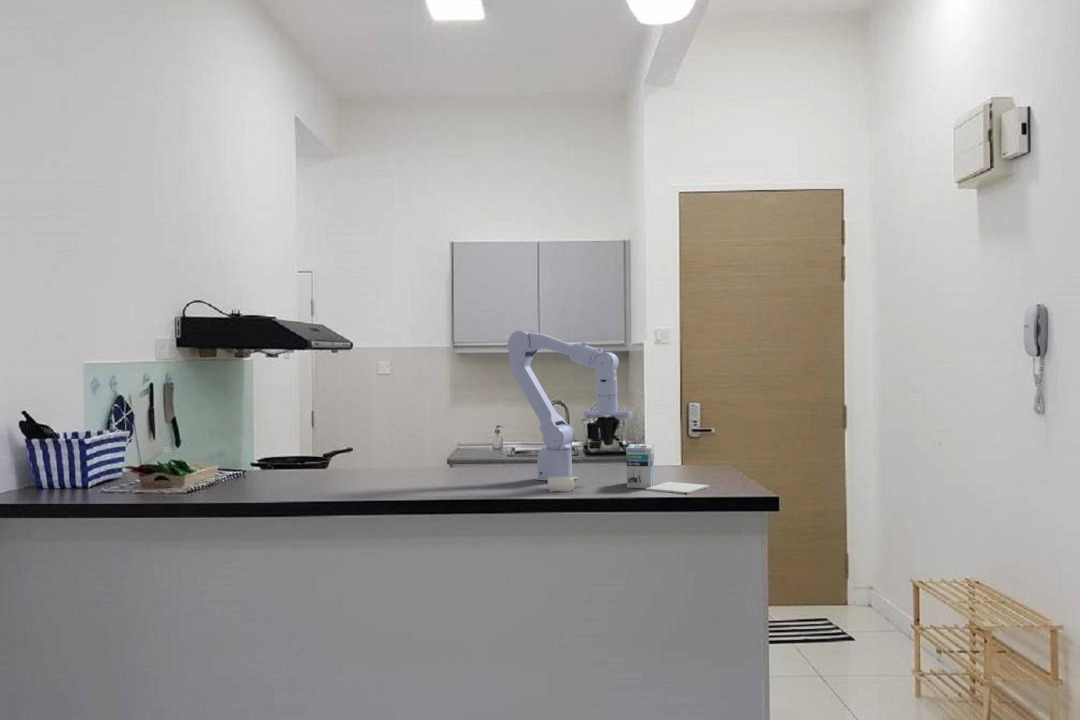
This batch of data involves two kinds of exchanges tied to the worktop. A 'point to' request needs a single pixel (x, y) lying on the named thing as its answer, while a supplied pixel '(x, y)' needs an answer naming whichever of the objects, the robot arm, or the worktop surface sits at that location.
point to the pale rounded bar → (561, 483)
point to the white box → (677, 487)
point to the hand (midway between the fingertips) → (608, 444)
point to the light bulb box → (640, 465)
